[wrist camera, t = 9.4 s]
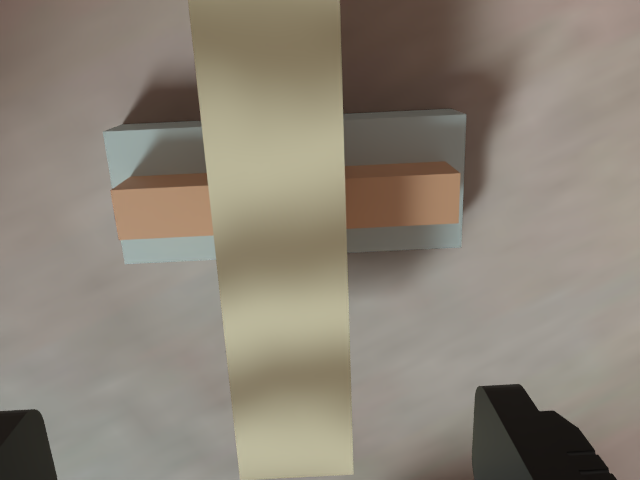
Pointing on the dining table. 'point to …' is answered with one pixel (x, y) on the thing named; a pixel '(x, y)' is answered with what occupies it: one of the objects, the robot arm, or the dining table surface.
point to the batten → (279, 227)
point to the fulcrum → (360, 185)
